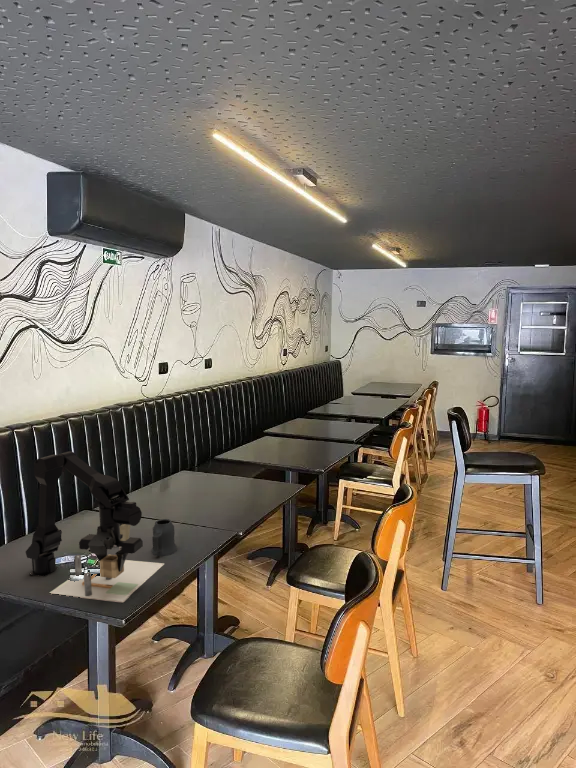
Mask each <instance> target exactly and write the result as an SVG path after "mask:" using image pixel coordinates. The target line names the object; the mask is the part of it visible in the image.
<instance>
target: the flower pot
mask: <svg viewBox="0 0 576 768" xmlns="http://www.w3.org/2000/svg"><path fill="white" fill-rule="evenodd" d="M130 532H131V525H125V524H122V525H121V526H120V534H123V538H121V539H120V541H126V540H127V539H129V538H130Z"/></svg>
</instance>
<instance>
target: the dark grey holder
mask: <svg viewBox="0 0 576 768" xmlns="http://www.w3.org/2000/svg"><path fill="white" fill-rule="evenodd" d="M177 551H178V548H177V545H176V543H175V525H174V523H173V522H172V520H171V519H167V518H163V519H157V520H156V521H154V524H153V527H152V549H151V554H152V555H153V556H156V557H167V556H171V555H173V554H175V553H176V552H177Z"/></svg>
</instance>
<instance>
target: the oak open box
mask: <svg viewBox="0 0 576 768" xmlns="http://www.w3.org/2000/svg"><path fill="white" fill-rule="evenodd" d="M122 572H124V565H123V568H122V570H121V571H120V572H119V570H118V556H117V555H116V554H110V553H109V554H107V556H106V557H104V558H103V559H102V560H100V575H101V577H108V578H116V577H117V576H119V575H120V574H121V573H122Z"/></svg>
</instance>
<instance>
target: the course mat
mask: <svg viewBox="0 0 576 768" xmlns="http://www.w3.org/2000/svg"><path fill="white" fill-rule="evenodd" d="M164 565H165V563H164V562H162V563H161V562H154V561H153V562H152V561H151V562H150V561H141V560H128V559H126V560H125V563H124V572H122V573H121V574H120V575H119V576H117V577H116V578H112V579H110V580H106V578H105V577H101V575H100V576H96V577H94V578H93V579H92V580H91V583H97V584H106V585H113V587H111V588H103V587H93V586H92V595H91V596H85V588H84V585H82V582H84V579H82V580H79V581H75V582H74V581H70V580H68V579H67V580H66V581H64V582H63V583H61V584H60V585H58V586H56V587H55V588H54V589H53V590H51V591H50V592H49V593H51V594H50V595H52V594H59V595H58V596H61V595H66V596H65V597H69V596H73V597H72V598H78V597H80V599H81V598H82V599H88V600H89V599H90V600H98V601H106V602H114V603H115V602H116V603H122V604H123V603H124V602H126V601H127V600H128V599H129V598H131V595H132V594H133V593H134V592H136V590H138V589H139V588H140V587H141V586H142V585H143V584H144V583H145V582H146V581H148V579H150V578H151V577H152V576H153V575H154V574H155V573H157V572H158V570H159V569H161V568H162V567H163V566H164Z"/></svg>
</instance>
